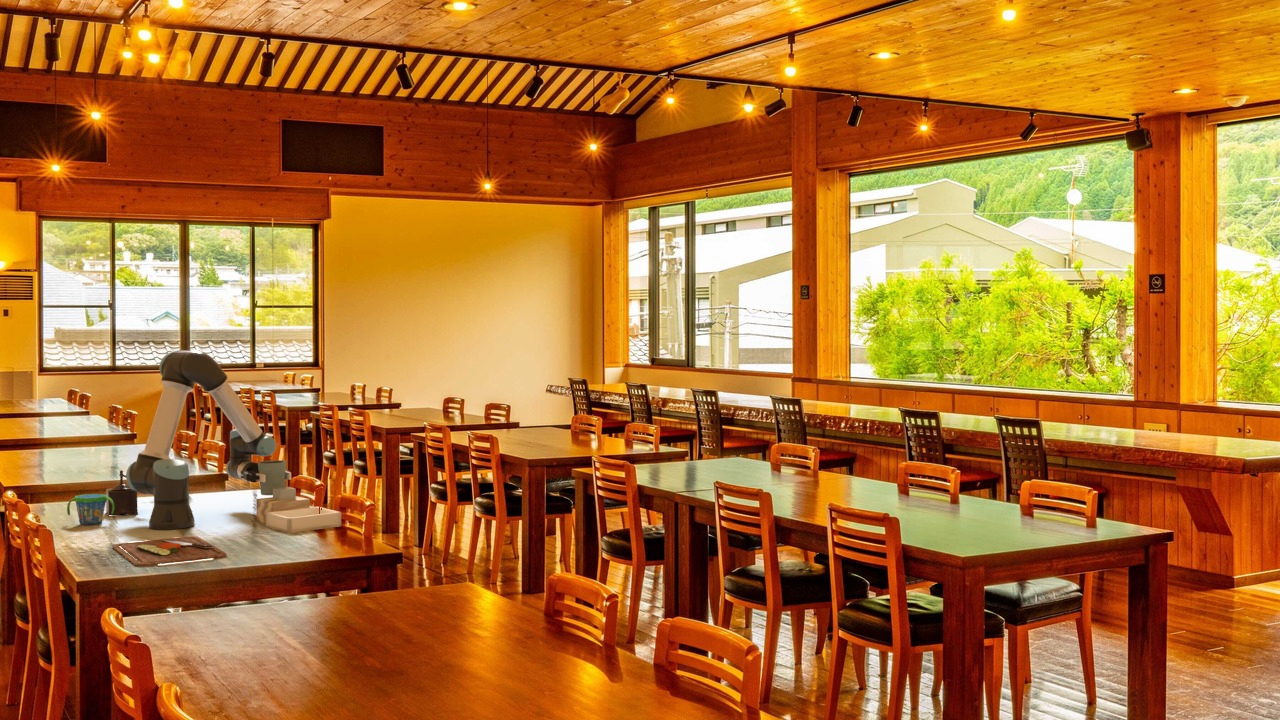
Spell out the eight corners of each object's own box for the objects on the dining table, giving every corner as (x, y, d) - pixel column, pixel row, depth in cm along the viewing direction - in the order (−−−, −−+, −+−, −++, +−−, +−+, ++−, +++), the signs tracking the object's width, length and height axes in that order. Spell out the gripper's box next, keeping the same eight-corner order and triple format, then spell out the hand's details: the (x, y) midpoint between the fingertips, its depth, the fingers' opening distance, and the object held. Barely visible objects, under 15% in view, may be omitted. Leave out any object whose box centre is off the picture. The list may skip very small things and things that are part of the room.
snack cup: (118, 520, 438) (117, 493, 437) (109, 525, 427) (108, 497, 427) (73, 521, 435) (72, 494, 435) (63, 526, 425) (62, 498, 425)
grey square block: (273, 499, 435) (272, 488, 435) (288, 497, 439) (288, 486, 439) (280, 501, 431) (280, 490, 431) (295, 499, 435) (295, 488, 435)
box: (265, 526, 424) (265, 512, 424) (317, 520, 438) (317, 506, 438) (288, 533, 411) (288, 518, 411) (341, 526, 424) (341, 512, 424)
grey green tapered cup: (278, 496, 437) (277, 463, 437) (252, 495, 439) (252, 462, 439) (291, 492, 447) (290, 460, 447) (266, 491, 449) (266, 459, 449)
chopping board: (109, 547, 389) (109, 537, 389) (194, 538, 404) (194, 529, 404) (138, 570, 352) (138, 560, 352) (231, 560, 367) (231, 550, 367)
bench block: (256, 520, 437) (256, 499, 436) (292, 516, 446) (292, 495, 446) (273, 525, 426) (273, 503, 426) (309, 521, 436) (309, 499, 435)
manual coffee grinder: (108, 516, 447) (107, 469, 446) (105, 512, 456) (104, 465, 456) (152, 513, 454) (152, 466, 454) (149, 509, 464) (148, 463, 463)
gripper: (278, 478, 464) (305, 484, 447) (223, 484, 449) (249, 490, 433) (278, 459, 464) (305, 464, 447) (223, 464, 449) (248, 469, 432)
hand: (277, 477), depth 440 cm, fingers closed on grey green tapered cup, 9 cm apart
